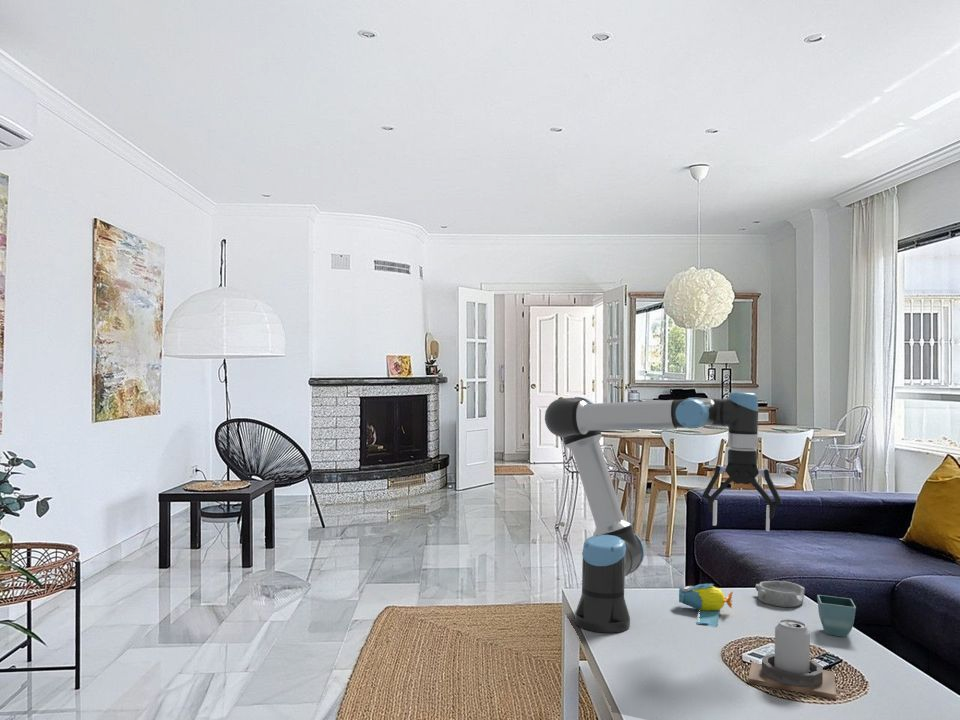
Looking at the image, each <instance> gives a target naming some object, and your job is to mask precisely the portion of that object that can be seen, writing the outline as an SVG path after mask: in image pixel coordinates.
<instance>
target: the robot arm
mask: <svg viewBox="0 0 960 720" xmlns="http://www.w3.org/2000/svg"><path fill="white" fill-rule="evenodd" d="M758 399H759V398H758V395H757V394H756V393H754V392H735V391H734V392H733V391H732V392H730V393H729V396H728V398H712V397H711V398H706V397H688V398H685V399H669V400H668V399H667V400H665V399H664V400H648V401H647V400H646V401H626V402H625V401H624V402H623V401H622V402H602V403H594V402H593V401H591V400H589V399H587V398H585V397H580V396H575V397H567V398H566V397H565V398H564V397H563V398H562V397H561V398H558V399H555V400H553V401H552V402H551V403H549V405H548V406H547V408H546V410H545V414H544V422H545V426H546V428H547V429H548V431H549V432H550V433H551V434H553V435H554V436H556V437H560V438H561V439H562V440H563V443H564V447H565V448H567V449H569V450H571V452H572V455H573V459H574V462H575V464H576V467H577V471H578V475H579V477H580V480H581V484H582V487H583V489H584V493H585V496H586V499H587V503H588V506H589V509H590V513H591V514H592V515H591V516H592V518H593V522H594V525H595V530H594V532H593V535H592V536H589V537H587V539H586V540H585V541H584V542H583V545H582V546H583V547H582V551H581V552H582V553H581V554H582V555H581V557H582V560H581V561H582V567H581V568H582V570H581V572H582V573H581V575H582V576H581V595H580V598H579V601H578V604H577V607H576V609H575V613H574V623H575V624H576V625H577V626H578V627H580V628H582V629H583V630H587V631H591V632H596V633H607V634H608V633H609V634H610V633H611V634H612V633H620V632H624V631H627V630H628V629H630V627H631V616H630V612H629V609H628V606H627V603H626V600H625V579H626V578H625V577H627V576H628V575H630V574H632V573H633V572H634V573H635V572H636V571H637V570H638V569H639V567H640V566H641V564H642V563H643V561H644V558H645V546H644V543H643V541H642V539H641V538H640V537H639V536H638V535H637V534H635V531H634V529H633V526H632V523H631V522H629V521H627V520H625V518H624V515H623V511H622V509H621V506H620V503H619V500H618V496H617V494H616V490H615V487H614V485H613V482H612V478H611V475H610V473H609V472H610V471H609V470H608V469H609V468H608V465H607V463H606V459H605V456H604V453H603V451H602V450H603V449H602V448H601V444H600V440H601V438H602V432H601V431H615V430H617V431H619V430H647V429H649V430H651V429H652V430H653V429H654V430H655V429H686V428H687V429H699V428H700V427H705V426H706V427H707V426H712V427H713V426H714V427H728V431H727V432H728V433H727V437H728V439H727V447H728V448H729V449H728V450H727V465H726V466H722V465H720V464H718V465H716V466H715V468H714V473H713V475H712V477H711V479H710V480H709V483H708V484H707V487H705V490H704V491H703V493H702V498H703V499H706V500H707V501H708V512H709V513H712V526H715V527H716V526H717V524H718V500H715V499H716V498H718V496H719V495H720V494H721V493H722V492H723V491H724V490H725V489H727V487H728V486H729V485H730V484H731V483H732V482H733V483H734V484H742V485H743V484H744V485H750V484H751V485H752V486H753V487H754V488H755V490H756V491H757V492H758V493H759V494H760V496H761V497H762V499H764V501H766V503H767V505H766V509H765V510H766V511H765V513H766V514H765V517H766V518H765V531H766V532H770V529H771V528H770V522H771V520H772V519H773V520H774V518H775V507H776V506H777V507H778V506H781V505H782V503H783V502H782V501H783V500H782V498H781V496H780V494H779V493H778V490H777V488H776V486H775V484H774V482H773V480H772V479H771V475H770V474H771V473H770V469H769V468H767V467H766V468H765V469H764V468H761V469H760V468H758V452H757V450H756V449H758V438H759V437H758V436H759V434H758V433H759V431H758V430H759V429H758V428H759V426H758V425H759V401H758ZM724 472H726V475H728V476H729V477H728V478H727V479H725V481H724V482H723V483H722V484H721V485H720V486H719V487H718V488H717V489H716V490H715V491H714V492H713V493H712V494H710V493H711V490H712V489H713V488H714V485H715V483H716V482H717V481H718V478H719V477H720V475H722V474H723V473H724ZM758 474H760V475H761V477H762V478H764V480H765V482H766V484H767V486H768V488H769V491H770V492H771V495H772V497H773V499H774V500H773V499H772V498H771V497H770V495H769V494H768V493H767V492H766V490H765V489H764V488H763V486H761V484H760V483H759V482H758V480H757V479H756V478H757V476H758Z"/></svg>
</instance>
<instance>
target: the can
mask: <svg viewBox="0 0 960 720" xmlns="http://www.w3.org/2000/svg"><path fill="white" fill-rule="evenodd" d="M777 623H778V624H777V625H776V626H775V627H774V654H775V660H774V667H775V668H778V669H781V670H783V671H788V672H793V673H809V665H810V660H811V659H810V658H811V656H810V652H811V632H810V630H809V629H808V624H807V623H805V622H803V621H800V620H796V619H788V618H782V619H779V620H778V621H777Z"/></svg>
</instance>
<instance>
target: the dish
mask: <svg viewBox="0 0 960 720" xmlns="http://www.w3.org/2000/svg"><path fill="white" fill-rule="evenodd" d="M755 590H756V591H757V598H758V600H759V601H760V602H762V603H765V604H767V605H771V606H776V607H783V608H795V607H799V606H801V605H802V604H803V603H804V599H805V594H806V588H805V587H804V586H802V585H800V584H798V583H795V582H794V583H793V582H790V581H785V580H784V581H780V580H769V581H760V582H759V583H756V584H755Z"/></svg>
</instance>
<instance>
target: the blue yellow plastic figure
mask: <svg viewBox="0 0 960 720" xmlns="http://www.w3.org/2000/svg"><path fill="white" fill-rule="evenodd" d="M733 593H734V592H733V591H731V592H730V593H729V594H728V595H727V597H725V594H724V592H723V590H721V589H720V587H717V586H714V585H713V584H712V583H702V584H701V583H698V584H696V585H691V584H690V585H685V586H683V587H681V586H680V587H679V589H678V602H679V603H681V604H684V605H686V606H689V607H691V608H693V609H695V610H697V609H698V610H700V611H699V612H700V613H699V614H700V617H699V618H700V622H698V621H696V622H695V623H696V624H695V625H703V626H707V627H711V628H717V627H718V625H719V620H720V619H719V618H720V613H721V612H720V611H721V609H722V608H723V607H724V605H725V603H726V605H727V606H728V607H729V608H731V609H733V608H732V607H733V605H732V604H733V603H732V602H733V599H732V598H733V597H732V596H733Z"/></svg>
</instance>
